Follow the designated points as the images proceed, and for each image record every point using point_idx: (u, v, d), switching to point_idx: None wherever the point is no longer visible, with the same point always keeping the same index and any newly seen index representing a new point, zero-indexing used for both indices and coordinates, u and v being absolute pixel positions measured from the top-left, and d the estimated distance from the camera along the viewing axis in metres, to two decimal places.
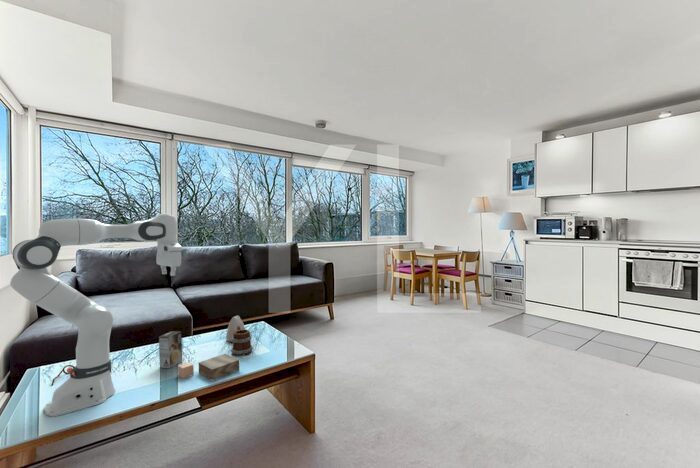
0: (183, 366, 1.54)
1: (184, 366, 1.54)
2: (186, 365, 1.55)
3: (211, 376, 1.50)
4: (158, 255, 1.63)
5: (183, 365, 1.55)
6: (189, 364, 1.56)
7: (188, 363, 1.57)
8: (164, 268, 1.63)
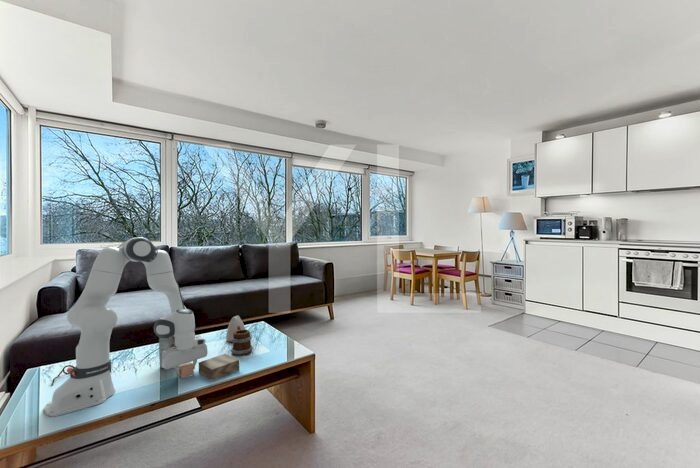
0: (183, 366, 1.54)
1: (184, 366, 1.54)
2: (186, 365, 1.55)
3: (211, 376, 1.50)
4: (171, 357, 1.49)
5: (183, 365, 1.55)
6: (189, 364, 1.56)
7: (188, 363, 1.57)
8: None
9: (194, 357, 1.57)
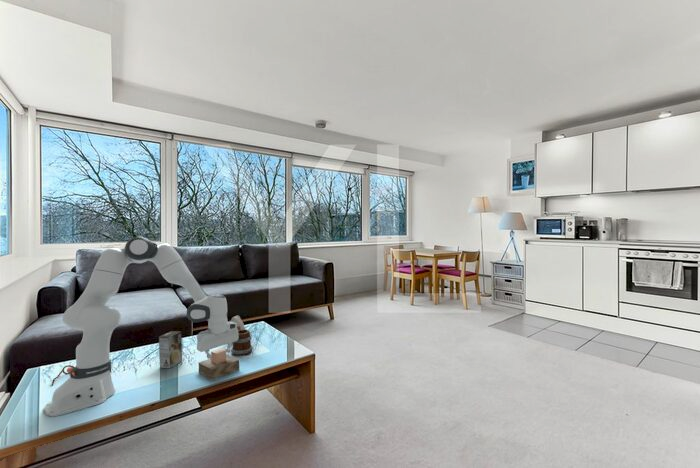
0: (216, 352, 1.57)
1: (217, 352, 1.57)
2: (219, 351, 1.58)
3: (211, 376, 1.50)
4: (205, 340, 1.52)
5: (216, 351, 1.59)
6: (222, 350, 1.60)
7: (220, 349, 1.61)
8: None
9: (226, 341, 1.60)
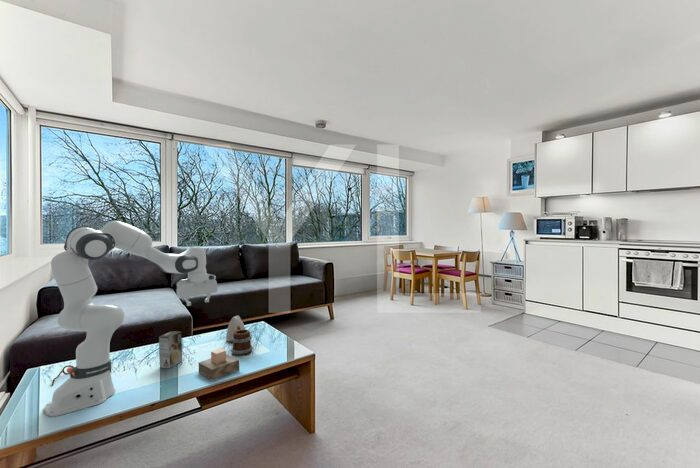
0: (216, 352, 1.57)
1: (217, 352, 1.57)
2: (219, 351, 1.58)
3: (211, 376, 1.50)
4: (185, 288, 1.62)
5: (216, 351, 1.59)
6: (222, 350, 1.60)
7: (220, 349, 1.61)
8: None
9: (205, 291, 1.70)
